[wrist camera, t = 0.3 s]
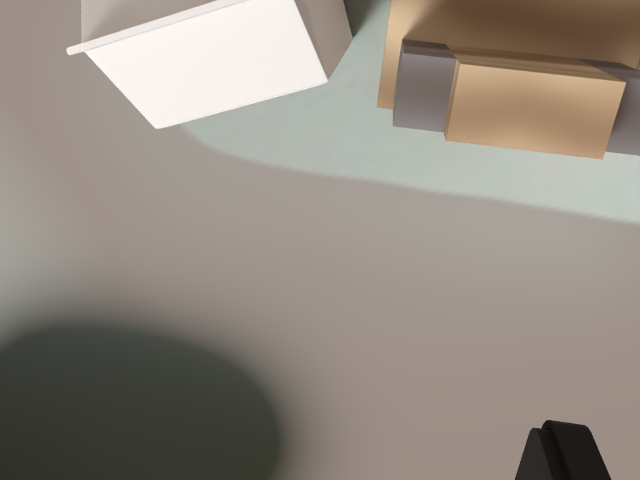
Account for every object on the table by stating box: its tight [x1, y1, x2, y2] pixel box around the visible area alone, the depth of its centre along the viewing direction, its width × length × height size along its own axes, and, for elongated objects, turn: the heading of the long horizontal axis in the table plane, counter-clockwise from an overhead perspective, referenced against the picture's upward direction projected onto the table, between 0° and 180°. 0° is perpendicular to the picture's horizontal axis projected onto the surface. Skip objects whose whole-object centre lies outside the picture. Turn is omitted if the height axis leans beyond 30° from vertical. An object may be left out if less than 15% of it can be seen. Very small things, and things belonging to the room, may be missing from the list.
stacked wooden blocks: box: [377, 0, 640, 159], centre depth 29 cm, size 13×14×10 cm
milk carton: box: [66, 0, 353, 129], centre depth 26 cm, size 7×7×19 cm
